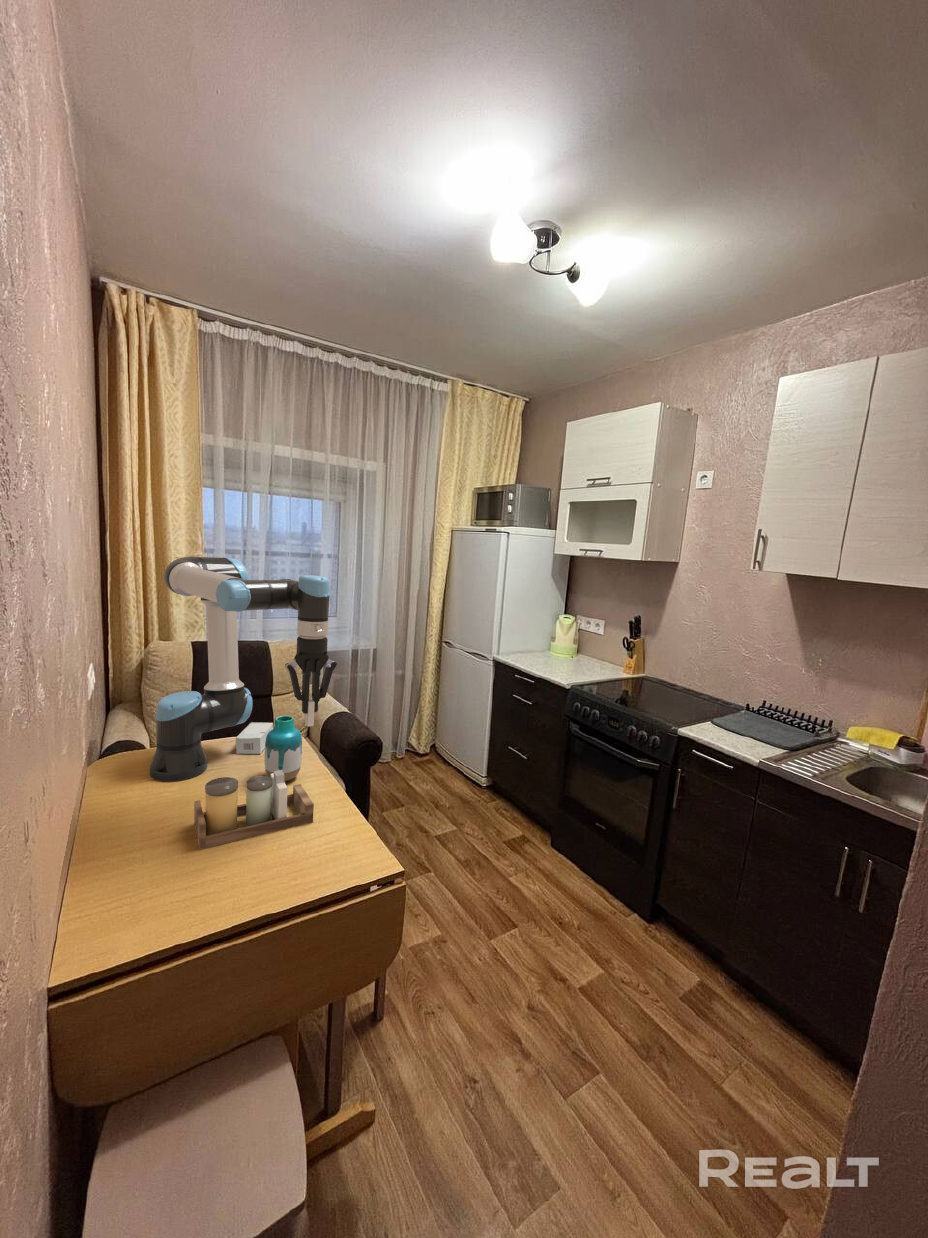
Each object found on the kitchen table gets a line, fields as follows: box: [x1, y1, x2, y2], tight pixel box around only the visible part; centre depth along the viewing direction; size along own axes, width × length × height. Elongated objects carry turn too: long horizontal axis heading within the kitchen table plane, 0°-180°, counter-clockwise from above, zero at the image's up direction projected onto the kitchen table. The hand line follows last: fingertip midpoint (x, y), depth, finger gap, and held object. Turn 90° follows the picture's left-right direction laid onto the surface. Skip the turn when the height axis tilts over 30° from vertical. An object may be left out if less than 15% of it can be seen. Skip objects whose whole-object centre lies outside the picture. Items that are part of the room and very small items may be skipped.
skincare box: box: [235, 722, 274, 755], centre depth 170 cm, size 8×6×15 cm
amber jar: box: [204, 776, 239, 836], centre depth 119 cm, size 7×7×12 cm
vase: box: [264, 714, 303, 782], centre depth 147 cm, size 11×11×19 cm
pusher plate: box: [271, 770, 288, 820], centre depth 127 cm, size 9×2×12 cm, turn 34°
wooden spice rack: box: [193, 783, 315, 850], centre depth 124 cm, size 12×26×6 cm, turn 124°
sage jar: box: [245, 775, 273, 827], centre depth 124 cm, size 6×6×11 cm
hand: (309, 724), depth 129 cm, fingers closed
